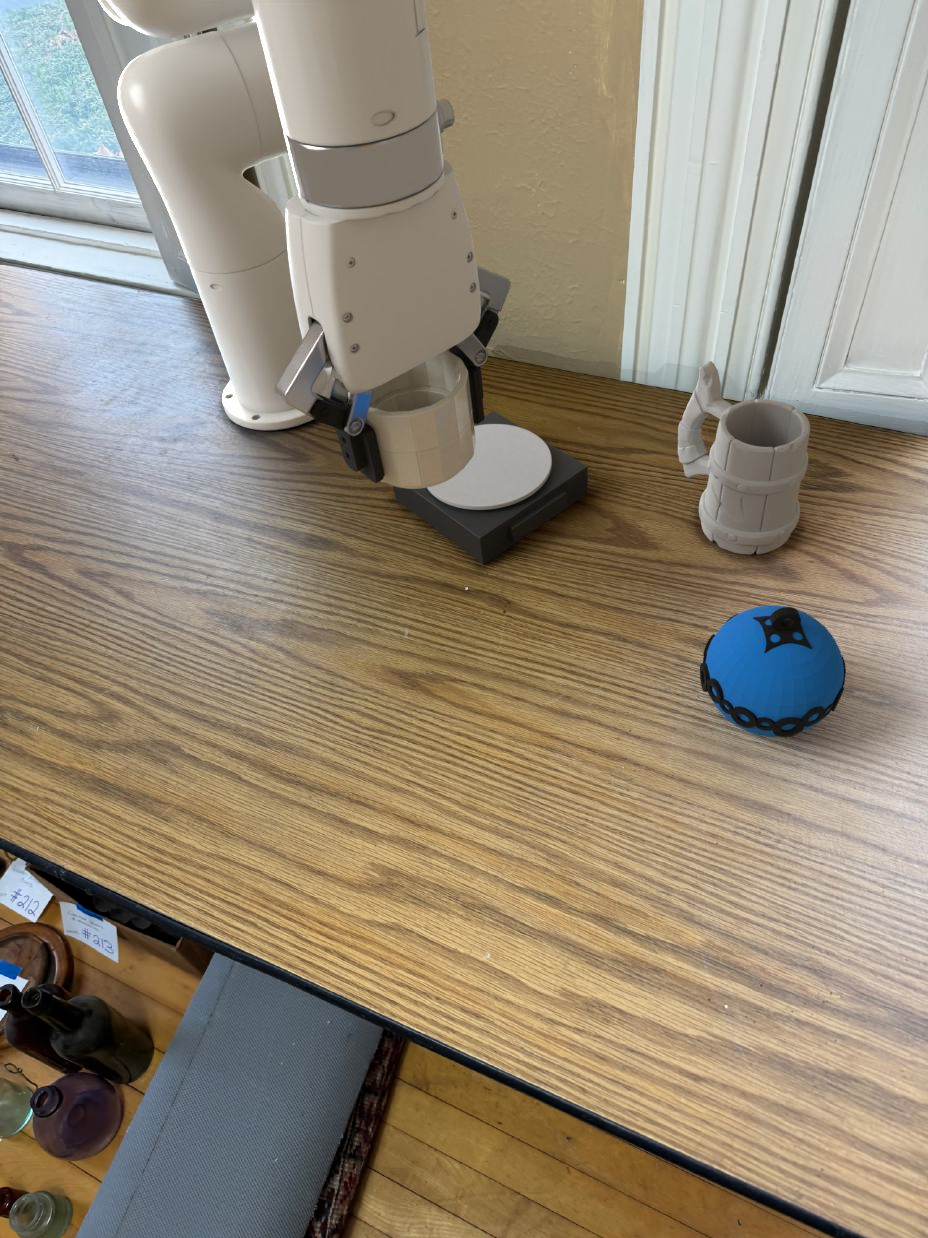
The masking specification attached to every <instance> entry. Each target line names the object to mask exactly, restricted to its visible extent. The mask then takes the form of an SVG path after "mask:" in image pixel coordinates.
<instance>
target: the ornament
mask: <svg viewBox="0 0 928 1238" xmlns="http://www.w3.org/2000/svg"><path fill="white" fill-rule="evenodd" d="M703 649H704V650H703V654H702V657H703V659H702V662H701V663H700V665H699V680H700V687H701V689H702V690H701V691H703V692H705V693H708V696H709V697H710V699H711V702H712V703H713V704H714V706H715V707H716V709H717V711H719V712H720V713H721V714H722V715H723V716H724V717H725V719H727V720H728V722H730V723H732V724H733V725H734V726H736V728H739V729H741V730H743V731H745V732H747V733H751V734H753V735H757V736H761V737H767V738H790V737H794V736H796V735H798V734H800V733H803V732H805V731H808V730H810V729H811V728H813V727H815V726H816V725H818V724H820V722H821V721H822V720H824V719H825V718H827V717H828V715H829V714H830V713H831V712H835V710H836V709H837V707H838V705H839V702H840V700H841V698H842V695H843V693H844V691H845V683H846V675H847V668H846V662H845V658H844V656H843V654H842V652H841V649H840V647H839V645H838V644H837V642H836V639H835V638H834V636H833V635H832V633H831V632H830V631H829V630H828V629H827V628H826V626H825V625H824V624H823V623H821V622H820V621H819V620H818V619H816V618H814V617H813V616H811V615H810V614H808V613H807V612H805V611H802V610H800V609H797V608H795V607H792V606H786V605H785V606H784V605H778V604H777V605H762V606H755V607H752V608H749V609H746V610H743V611H741V612H740V613H736V614H734V615H731V616H730V617H729V618H728V619H727V620H726V621H725V623H724V624H723V625H722V626H721V627H720V628H719V630H718V631H717V632H716V633H712V634H711V636H710V637H709V639H708V640H707V642H706V644H705V646H704V648H703Z"/></svg>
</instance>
